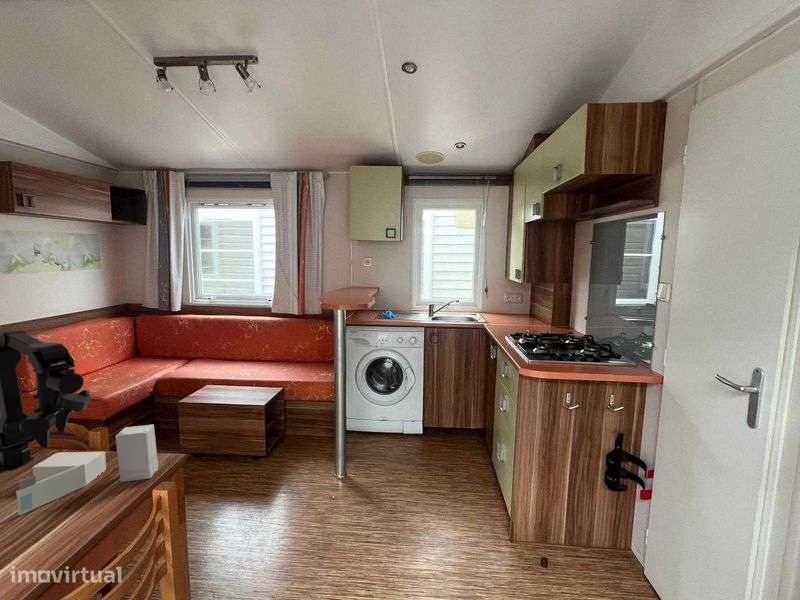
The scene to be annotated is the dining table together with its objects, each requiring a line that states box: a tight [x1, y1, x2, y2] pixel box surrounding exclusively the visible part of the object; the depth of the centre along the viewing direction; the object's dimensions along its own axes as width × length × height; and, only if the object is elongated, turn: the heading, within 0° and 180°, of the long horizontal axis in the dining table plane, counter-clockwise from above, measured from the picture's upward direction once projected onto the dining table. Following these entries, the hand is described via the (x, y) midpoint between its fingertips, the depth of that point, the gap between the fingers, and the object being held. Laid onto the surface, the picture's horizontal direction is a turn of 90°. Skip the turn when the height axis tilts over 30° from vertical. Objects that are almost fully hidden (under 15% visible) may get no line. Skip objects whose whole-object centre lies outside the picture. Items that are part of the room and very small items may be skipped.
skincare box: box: [115, 424, 159, 483], centre depth 109 cm, size 8×6×15 cm
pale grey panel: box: [15, 464, 87, 516], centre depth 97 cm, size 14×1×9 cm, turn 155°
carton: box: [32, 451, 107, 486], centre depth 108 cm, size 14×8×6 cm, turn 94°
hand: (53, 439), depth 106 cm, fingers open, 9 cm apart
